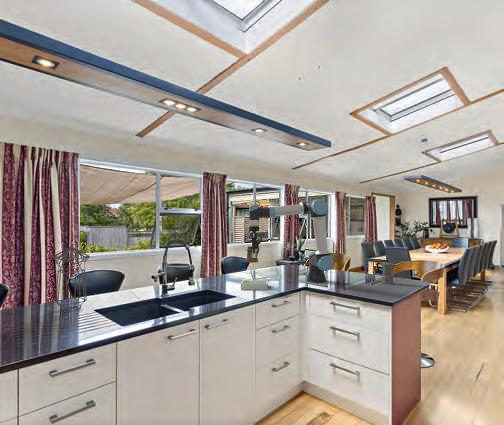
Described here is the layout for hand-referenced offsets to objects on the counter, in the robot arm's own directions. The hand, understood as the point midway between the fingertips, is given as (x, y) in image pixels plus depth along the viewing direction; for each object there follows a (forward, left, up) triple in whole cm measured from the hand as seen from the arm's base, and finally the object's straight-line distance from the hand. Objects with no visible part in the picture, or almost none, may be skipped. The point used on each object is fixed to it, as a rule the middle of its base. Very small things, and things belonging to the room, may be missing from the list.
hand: (254, 257), depth 234 cm
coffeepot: (-100, -20, -22) cm, 104 cm away
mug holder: (0, 0, -22) cm, 22 cm away
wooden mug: (0, -1, -4) cm, 4 cm away
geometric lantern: (+99, +62, -22) cm, 119 cm away
